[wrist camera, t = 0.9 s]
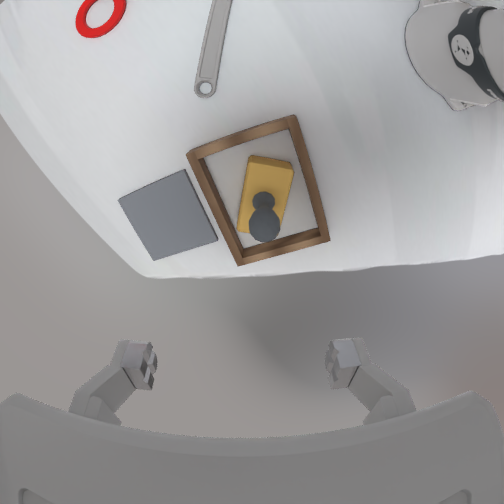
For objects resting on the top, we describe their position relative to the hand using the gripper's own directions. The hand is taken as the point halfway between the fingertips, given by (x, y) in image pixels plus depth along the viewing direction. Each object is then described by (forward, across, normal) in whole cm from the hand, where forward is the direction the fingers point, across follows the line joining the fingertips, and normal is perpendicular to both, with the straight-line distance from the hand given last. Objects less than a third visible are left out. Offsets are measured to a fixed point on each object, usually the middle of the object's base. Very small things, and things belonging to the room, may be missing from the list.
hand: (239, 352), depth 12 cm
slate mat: (+30, +12, +7) cm, 33 cm away
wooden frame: (+29, -3, +3) cm, 29 cm away
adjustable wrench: (+29, +3, -23) cm, 37 cm away
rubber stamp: (+29, -3, +3) cm, 29 cm away
